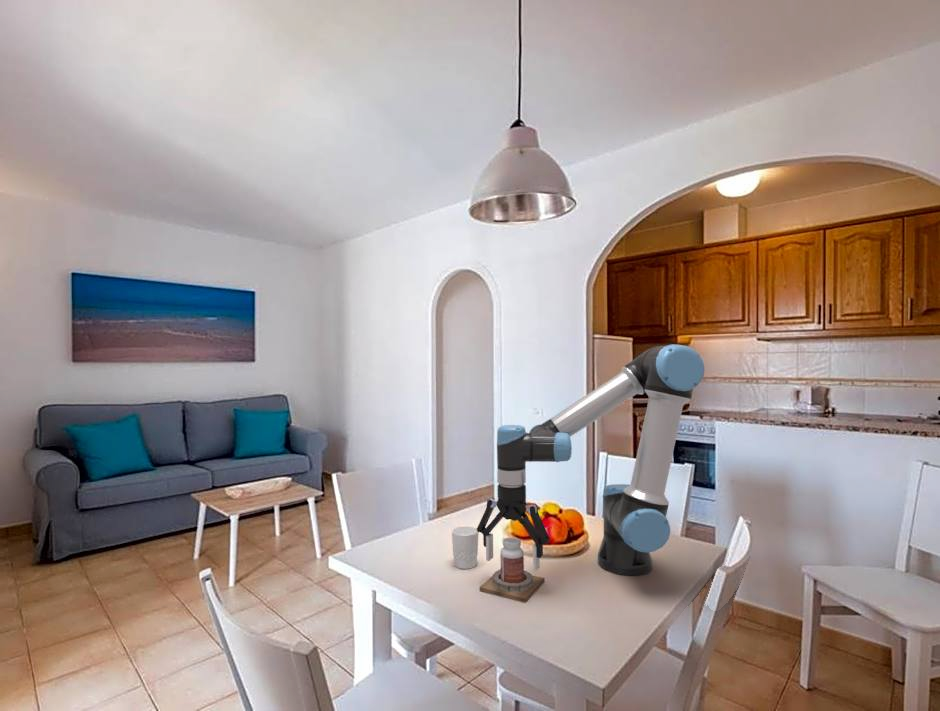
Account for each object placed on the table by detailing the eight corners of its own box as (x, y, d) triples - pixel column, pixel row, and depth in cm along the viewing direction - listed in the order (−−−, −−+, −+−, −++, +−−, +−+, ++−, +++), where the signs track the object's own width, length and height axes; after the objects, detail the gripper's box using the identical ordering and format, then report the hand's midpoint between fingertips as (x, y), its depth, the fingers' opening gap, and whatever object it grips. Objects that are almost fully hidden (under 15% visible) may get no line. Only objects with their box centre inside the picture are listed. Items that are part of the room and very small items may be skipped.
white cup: (459, 557, 149) (459, 524, 149) (483, 561, 145) (482, 528, 145) (447, 567, 142) (447, 532, 142) (471, 572, 138) (471, 536, 138)
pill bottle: (529, 583, 129) (528, 541, 129) (510, 589, 125) (510, 546, 125) (513, 574, 134) (513, 534, 134) (496, 580, 130) (495, 539, 130)
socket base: (544, 581, 132) (544, 572, 132) (525, 602, 121) (525, 592, 121) (501, 571, 138) (501, 562, 138) (479, 590, 127) (479, 581, 127)
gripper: (561, 486, 127) (562, 568, 127) (477, 475, 139) (478, 550, 139) (551, 493, 120) (552, 579, 120) (464, 481, 133) (464, 559, 132)
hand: (512, 564), depth 130 cm, fingers open, 13 cm apart
